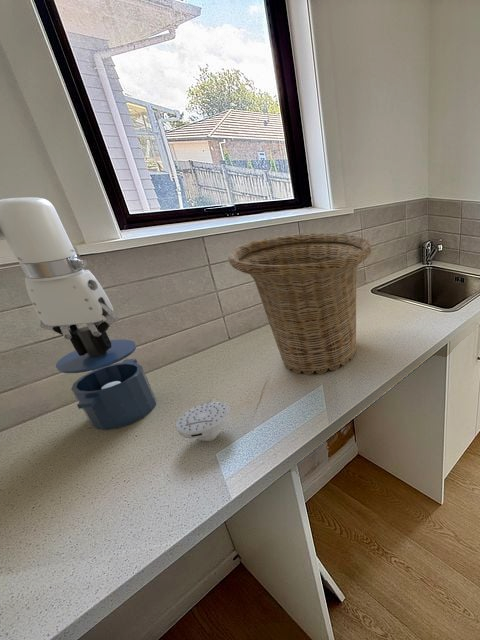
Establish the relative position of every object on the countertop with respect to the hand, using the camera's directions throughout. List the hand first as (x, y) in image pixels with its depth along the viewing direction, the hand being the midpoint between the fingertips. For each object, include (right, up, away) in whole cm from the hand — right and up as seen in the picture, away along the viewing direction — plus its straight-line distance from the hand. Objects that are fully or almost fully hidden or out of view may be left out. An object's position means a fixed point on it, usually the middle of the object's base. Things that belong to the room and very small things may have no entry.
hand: (95, 350), depth 71 cm
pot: (0, -15, +7) cm, 17 cm away
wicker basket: (+38, -4, +31) cm, 49 cm away
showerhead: (+24, -19, +1) cm, 31 cm away
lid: (0, -1, +1) cm, 1 cm away
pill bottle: (0, -15, +7) cm, 17 cm away
